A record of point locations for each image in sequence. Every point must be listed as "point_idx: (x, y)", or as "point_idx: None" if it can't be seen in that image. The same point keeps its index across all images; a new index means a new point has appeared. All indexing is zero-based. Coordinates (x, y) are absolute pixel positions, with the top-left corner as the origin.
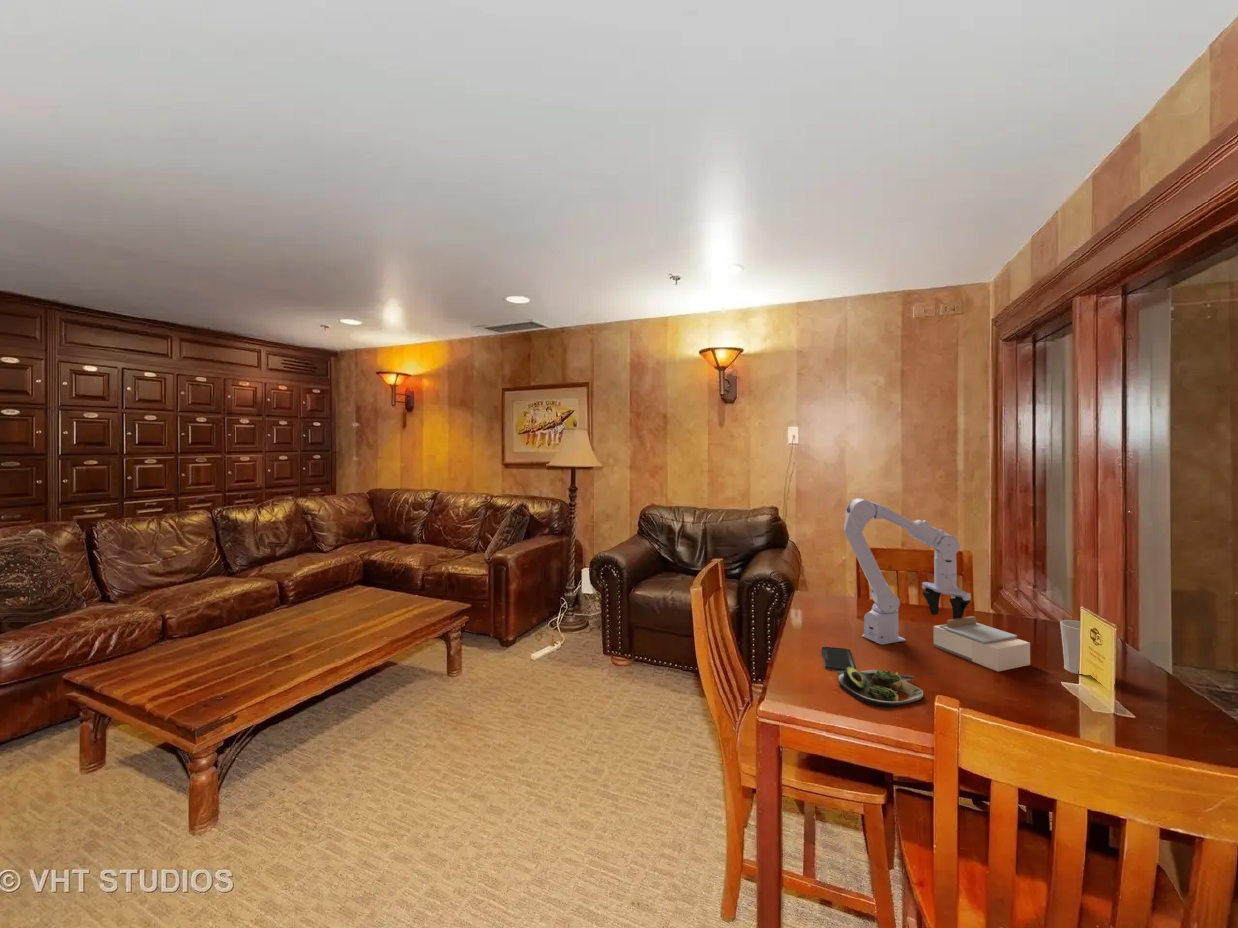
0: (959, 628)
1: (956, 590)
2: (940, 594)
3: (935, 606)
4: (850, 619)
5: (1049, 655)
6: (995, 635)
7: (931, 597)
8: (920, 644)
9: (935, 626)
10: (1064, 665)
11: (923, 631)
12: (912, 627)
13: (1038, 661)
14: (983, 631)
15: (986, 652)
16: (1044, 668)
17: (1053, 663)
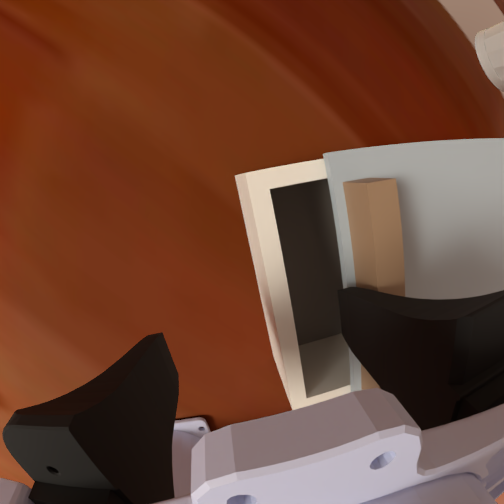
0: None
1: (482, 476)
2: (97, 409)
3: (156, 388)
4: (4, 426)
5: (415, 10)
6: (502, 235)
7: (163, 486)
8: (244, 388)
9: (298, 405)
10: (494, 77)
11: (88, 280)
12: (41, 292)
13: (456, 90)
14: (464, 247)
15: None
16: (490, 130)
17: (466, 67)
